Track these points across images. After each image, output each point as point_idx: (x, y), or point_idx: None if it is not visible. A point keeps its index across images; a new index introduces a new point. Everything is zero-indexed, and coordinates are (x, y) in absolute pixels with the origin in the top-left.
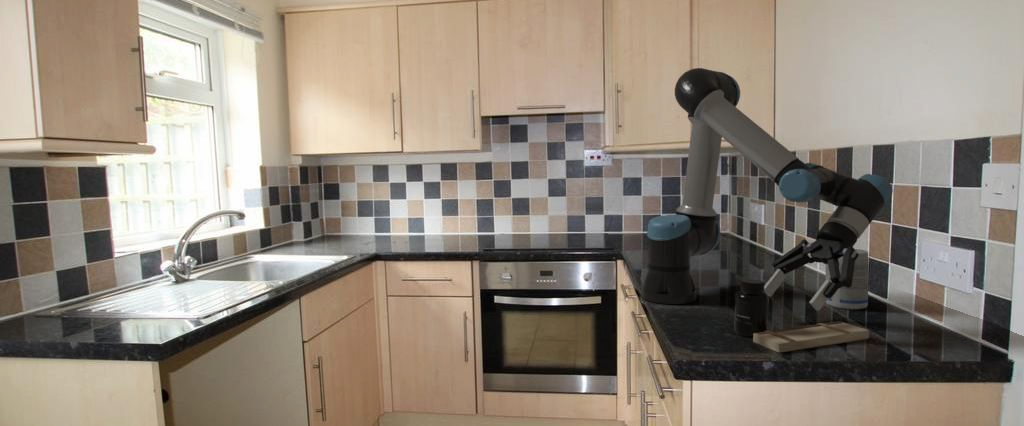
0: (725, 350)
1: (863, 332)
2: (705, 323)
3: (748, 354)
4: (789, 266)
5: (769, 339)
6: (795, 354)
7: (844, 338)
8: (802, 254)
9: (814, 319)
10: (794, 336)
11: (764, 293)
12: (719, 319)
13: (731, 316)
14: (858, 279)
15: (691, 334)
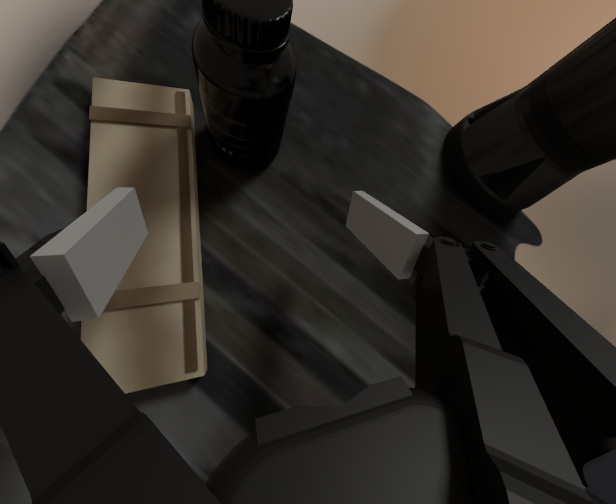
0: (165, 30)
1: None
2: (328, 114)
3: (124, 44)
4: (428, 280)
5: (133, 84)
6: (77, 117)
7: None
8: (478, 345)
9: (305, 362)
10: (127, 148)
11: (224, 62)
12: (347, 154)
13: (362, 189)
14: None
15: None
